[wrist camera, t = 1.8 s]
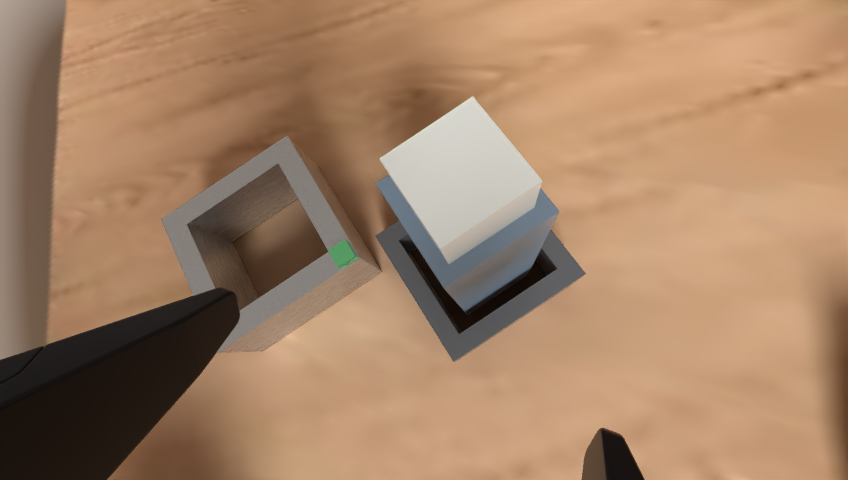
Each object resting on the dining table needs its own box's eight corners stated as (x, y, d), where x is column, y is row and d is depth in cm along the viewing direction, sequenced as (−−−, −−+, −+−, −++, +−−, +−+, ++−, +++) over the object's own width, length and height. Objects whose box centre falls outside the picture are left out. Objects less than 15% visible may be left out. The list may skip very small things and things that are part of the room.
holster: (458, 359, 21) (453, 361, 19) (389, 249, 24) (375, 235, 21) (573, 283, 21) (585, 273, 19) (493, 179, 24) (493, 157, 21)
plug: (467, 315, 22) (434, 277, 10) (428, 256, 23) (354, 155, 11) (528, 274, 22) (572, 184, 10) (486, 218, 23) (477, 72, 11)
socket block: (262, 351, 23) (212, 352, 19) (210, 237, 26) (155, 217, 22) (381, 271, 23) (357, 255, 19) (317, 166, 26) (283, 131, 22)
